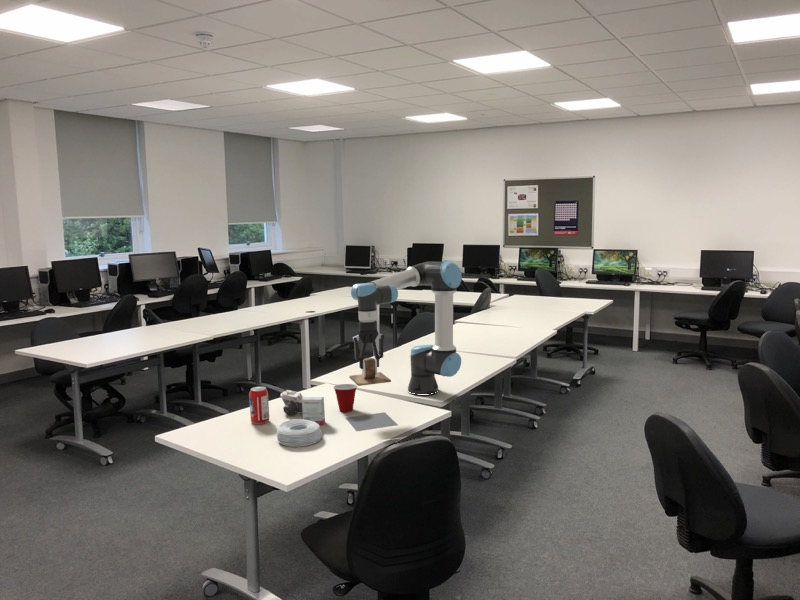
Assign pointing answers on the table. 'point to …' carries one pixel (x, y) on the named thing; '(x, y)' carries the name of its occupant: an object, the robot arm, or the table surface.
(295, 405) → the camera
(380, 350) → the robot arm
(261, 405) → the soda can
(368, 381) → the lid
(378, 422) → the mat
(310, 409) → the ink box
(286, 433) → the cable
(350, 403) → the plastic cup
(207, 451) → the table surface
